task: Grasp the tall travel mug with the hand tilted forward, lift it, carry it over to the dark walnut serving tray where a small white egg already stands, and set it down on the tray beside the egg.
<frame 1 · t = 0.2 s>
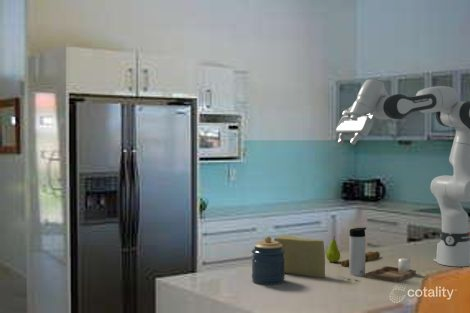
hand: (345, 143, 247), 54 cm above the worktop, tool tilted 30°, fingers open, 8 cm apart
travel mug: (357, 277, 244), on the worktop
white egg: (403, 274, 244), point 1 cm above the worktop, touching tray
fruit: (333, 262, 274), on the worktop
tap handle: (361, 262, 275), on the worktop
canister: (268, 281, 238), on the worktop
cheese: (301, 274, 251), on the worktop
tray: (390, 278, 242), on the worktop
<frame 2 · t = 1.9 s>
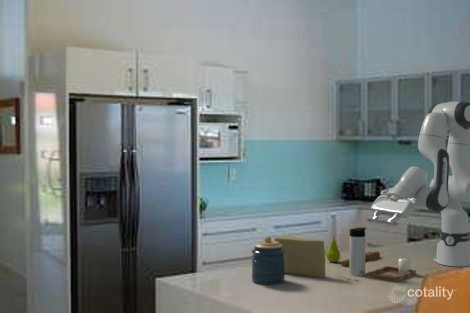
hand: (381, 222, 249), 21 cm above the worktop, tool tilted 45°, fingers open, 8 cm apart
nothing on the worktop moved.
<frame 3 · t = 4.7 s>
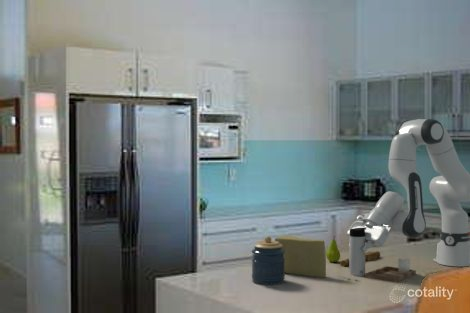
hand: (356, 249, 244), 11 cm above the worktop, tool tilted 45°, fingers closed on travel mug, 6 cm apart
travel mug: (357, 277, 244), on the worktop, touching gripper
everything else where it was.
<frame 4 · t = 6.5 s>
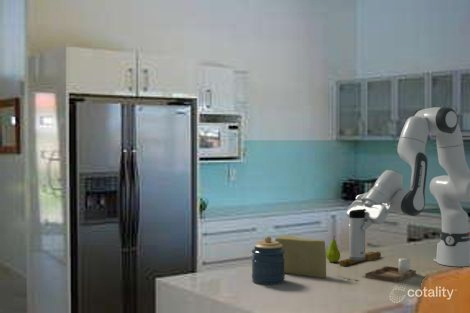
hand: (356, 228, 243), 20 cm above the worktop, tool tilted 45°, fingers closed on travel mug, 6 cm apart
travel mug: (357, 259, 244), point 7 cm above the worktop, touching gripper
everything else where it was.
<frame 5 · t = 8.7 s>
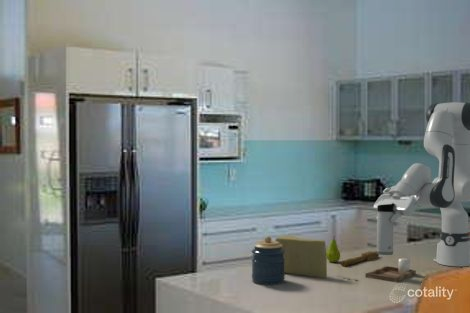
hand: (384, 220, 239), 23 cm above the worktop, tool tilted 45°, fingers closed on travel mug, 6 cm apart
travel mug: (385, 254, 239), point 10 cm above the worktop, touching gripper
when the fingers open (15 cm above the worktop, at t = 10.7 s): travel mug stays where it is, resting on tray.
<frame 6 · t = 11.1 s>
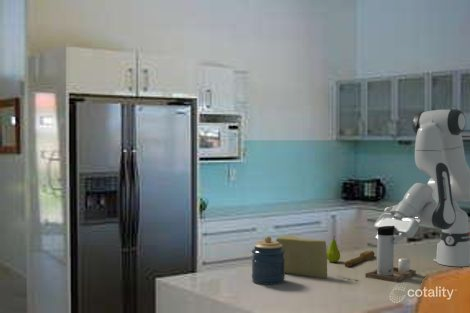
hand: (385, 241, 240), 15 cm above the worktop, tool tilted 45°, fingers open, 8 cm apart
travel mug: (385, 276, 241), point 1 cm above the worktop, touching tray
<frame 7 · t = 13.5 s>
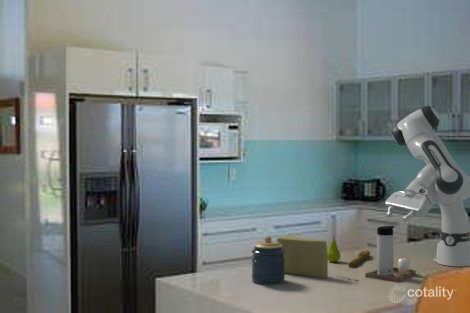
hand: (396, 218, 244), 24 cm above the worktop, tool tilted 50°, fingers open, 8 cm apart
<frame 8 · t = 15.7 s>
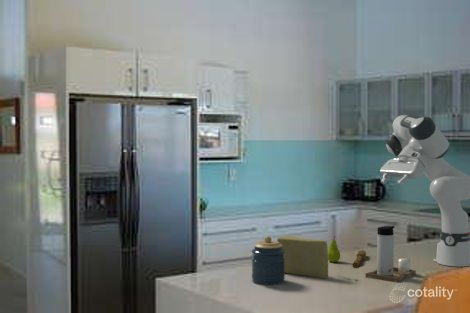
hand: (390, 183, 246), 37 cm above the worktop, tool tilted 45°, fingers open, 8 cm apart
at the end: travel mug inside the target area on the tray (2.6 cm from its centre), point 1.0 cm above the tray's base; travel mug tilted 0°; the gripper is holding nothing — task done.
